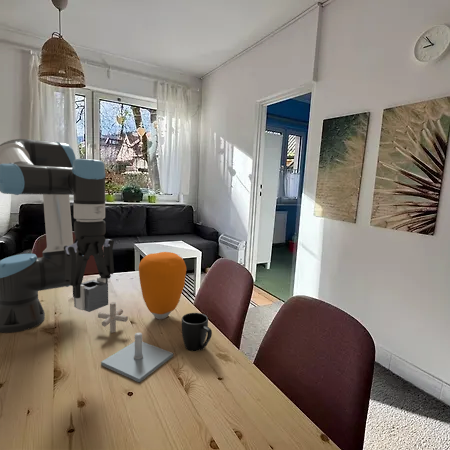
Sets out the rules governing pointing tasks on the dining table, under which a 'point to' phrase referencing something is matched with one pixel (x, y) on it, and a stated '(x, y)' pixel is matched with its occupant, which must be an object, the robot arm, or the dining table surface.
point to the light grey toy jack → (112, 317)
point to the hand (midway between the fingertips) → (91, 304)
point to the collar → (95, 295)
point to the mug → (195, 331)
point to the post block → (137, 359)
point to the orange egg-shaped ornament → (162, 282)
